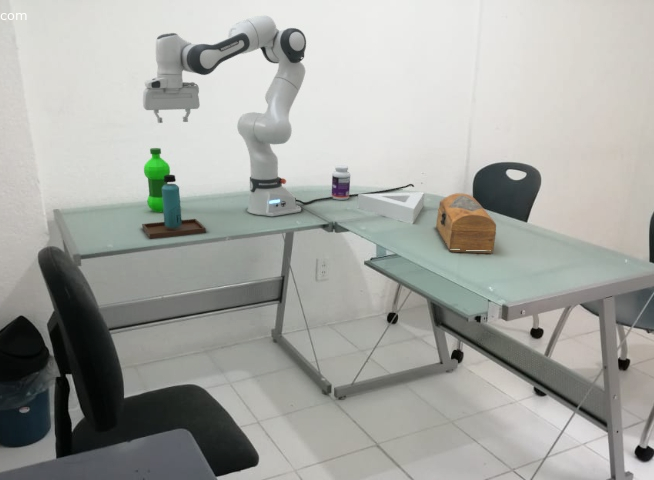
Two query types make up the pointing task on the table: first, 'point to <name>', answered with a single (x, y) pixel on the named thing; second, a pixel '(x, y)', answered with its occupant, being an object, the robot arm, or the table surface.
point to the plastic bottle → (156, 179)
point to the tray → (173, 229)
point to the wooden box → (465, 224)
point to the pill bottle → (340, 183)
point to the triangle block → (393, 205)
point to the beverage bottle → (171, 203)
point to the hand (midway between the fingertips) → (172, 122)
